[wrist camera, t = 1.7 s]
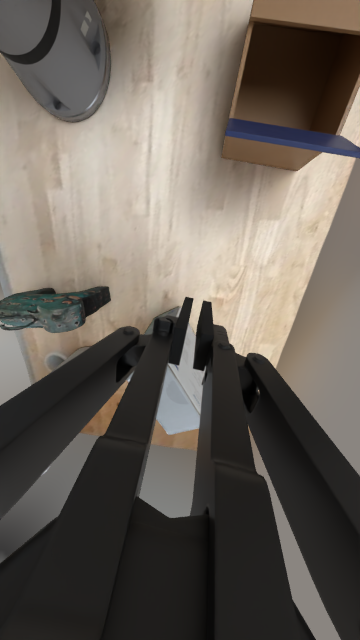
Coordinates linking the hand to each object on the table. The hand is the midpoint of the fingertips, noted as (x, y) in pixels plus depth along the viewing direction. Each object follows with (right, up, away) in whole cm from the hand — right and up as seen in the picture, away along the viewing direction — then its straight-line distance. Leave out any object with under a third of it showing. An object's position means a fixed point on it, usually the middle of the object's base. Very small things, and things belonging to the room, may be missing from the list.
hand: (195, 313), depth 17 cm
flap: (+10, +19, +1) cm, 21 cm away
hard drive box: (-1, -5, +29) cm, 30 cm away
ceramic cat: (-26, +6, +28) cm, 39 cm away
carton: (+13, +32, +11) cm, 37 cm away
